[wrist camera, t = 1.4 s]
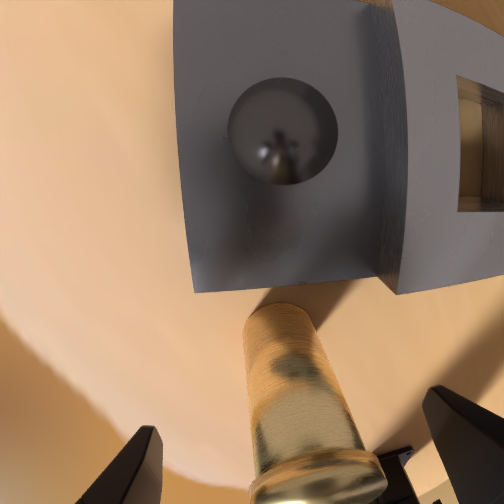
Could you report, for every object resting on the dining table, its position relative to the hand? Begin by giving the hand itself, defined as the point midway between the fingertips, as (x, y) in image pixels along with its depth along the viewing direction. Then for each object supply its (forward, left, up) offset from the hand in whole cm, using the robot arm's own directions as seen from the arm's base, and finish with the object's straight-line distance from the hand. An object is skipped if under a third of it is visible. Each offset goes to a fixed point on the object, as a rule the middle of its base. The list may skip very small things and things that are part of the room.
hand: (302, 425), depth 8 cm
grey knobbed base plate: (+8, -8, -5) cm, 12 cm away
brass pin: (0, 0, -5) cm, 5 cm away
